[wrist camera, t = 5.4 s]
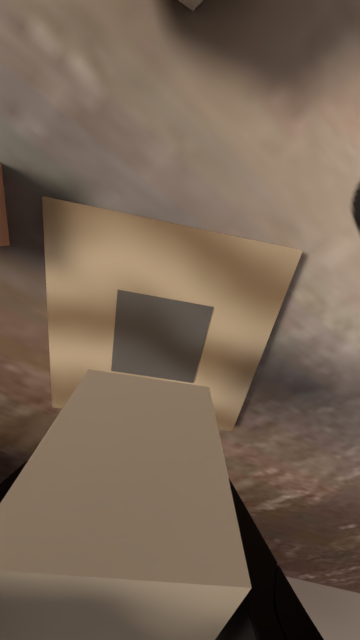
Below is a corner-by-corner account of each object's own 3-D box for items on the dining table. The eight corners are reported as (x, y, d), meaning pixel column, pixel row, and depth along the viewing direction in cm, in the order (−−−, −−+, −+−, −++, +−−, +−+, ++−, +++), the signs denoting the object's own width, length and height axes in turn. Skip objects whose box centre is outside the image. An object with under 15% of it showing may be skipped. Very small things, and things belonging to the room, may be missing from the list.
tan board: (230, 423, 20) (232, 431, 19) (57, 400, 19) (51, 407, 18) (296, 249, 14) (303, 250, 13) (49, 198, 13) (40, 195, 12)
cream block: (185, 464, 10) (193, 669, 5) (85, 453, 9) (-3, 663, 5) (209, 387, 8) (251, 588, 4) (88, 369, 8) (-43, 567, 3)
